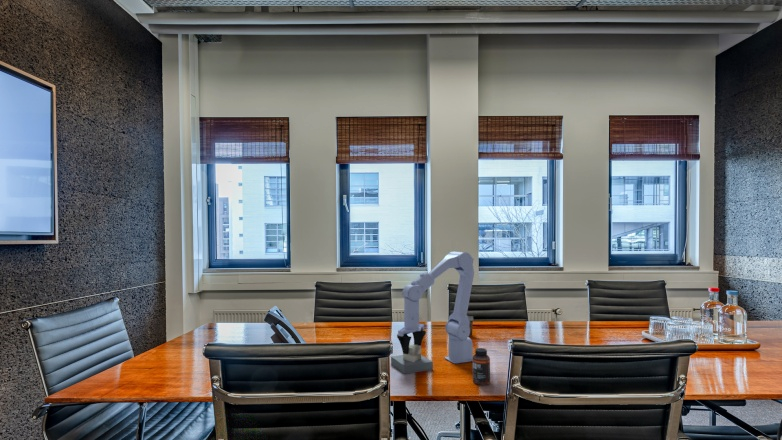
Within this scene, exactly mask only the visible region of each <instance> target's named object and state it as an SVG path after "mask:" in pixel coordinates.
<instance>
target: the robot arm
mask: <svg viewBox="0 0 782 440" xmlns="http://www.w3.org/2000/svg"><path fill="white" fill-rule="evenodd" d="M449 269H455V270H456V271H457V273H458V274H459V281H458V284H457V285H458V286H457V290H456V291H457V292H456V295H455V296H456V297H455V301H454V307H453V311H452V313H451V314H450V315H449V316H448V320H447V322H446V323H445V332H446V333H447V336H448V356H444V360H447V361H449V362H450V363H453V364H454V365H456V364H461V363H462V364H463V363H468V362H469V363H470V362H473V356H474V344H473V341H472V339H471V338H470V336H469V334H470V328H469V324H470V321H469V319H468V318H467V315H468V314H467V313H468V310H469V304H470V297H471V293H472V287H473V281H474V276H475V270H474V258H473V256H472V255H471V254H470V253H469V252H467V251H463V252H462V251H454V250H453V251H450V252H449V253H448V254H446V255H445V256H444V258H443V259H441V261H440V262H439V263H438V264H436V266H434V268H432V269H431V270H430V271H429V272H425V271H424V272H421V273H420V274H419V276H418V277H417V278H416V279H415V280H412V281H411V282H410V284H406V285H405V286H404V287H403V289H402V291H401V295H402V297H403V299H404V300H403V301H404V304H403V305H404V310H403V311H404V317H403V318H404V319H403V320H404V321H403V322H404V323H403V327H402V328H400V329H399V330H397V334H396V338H397V339H398V342H399V343H400V346H401V352H402V355H403V354H408V353H409V344H411V340H412V337H413V344H415V345H419V346H421V347H422V344H423V343H422V342H423V340H424V337H425V335H426V330H425V324H423V323H420V300H421V298H423V297H422V296H423V293H425V292H426V291H427V290H428V289H429V288H430V287H431V286H433V285H434V284H435V280H436V279H437V278H438V277H440V276H441V275H442V274H443V273H445V272H446V271H447V270H449ZM409 334H412V336H411V335H410V336H409Z"/></svg>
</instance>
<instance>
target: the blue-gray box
mask: <svg viewBox="0 0 782 440" xmlns="http://www.w3.org/2000/svg"><path fill="white" fill-rule="evenodd" d="M390 364H391V366H392V367H394V368H396V369H397V370H398V371H400V372H401V373H403V374H404V375H406V374H407V375H408V374H412V373H413V374H414V373H419V372H427V371H432V370H434V361H433V360H431V359H429V358H427V356H424V355H422V354H421V359H420V360H417V361H415V362H411V361H407V360H403V354H401V355H400V354H399V355H392V356H390Z"/></svg>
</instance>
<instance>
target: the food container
mask: <svg viewBox="0 0 782 440" xmlns="http://www.w3.org/2000/svg"><path fill="white" fill-rule="evenodd" d="M467 318H468V319H469V321H470V324H469V328H470V334H469V336H468V337H472V336H473V326H474V316H470V315H468V314H467Z"/></svg>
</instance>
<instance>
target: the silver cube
mask: <svg viewBox="0 0 782 440" xmlns="http://www.w3.org/2000/svg"><path fill="white" fill-rule="evenodd" d="M402 355H403V360H407V361H411V362H415V361H417V360H420V359H421V355H422V345H421V346H419V345H415V344H414V343H410V344H409V353H408V354H403V353H402Z"/></svg>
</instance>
